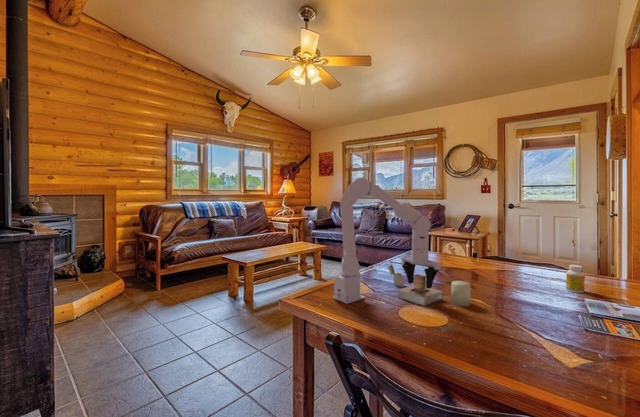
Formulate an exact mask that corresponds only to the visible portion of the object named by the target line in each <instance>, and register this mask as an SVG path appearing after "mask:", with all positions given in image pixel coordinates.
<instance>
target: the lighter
mask: <svg viewBox="0 0 640 417" xmlns="http://www.w3.org/2000/svg"><path fill="white" fill-rule="evenodd" d="M387 269H388V270H389V274H390V276H393V286H397V287H401V288H404V287H405V275H403V274H402V272H398V271H397V272H396V271H395V268H394V265H393V264H388V265H387Z"/></svg>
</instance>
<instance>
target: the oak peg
mask: <svg viewBox="0 0 640 417" xmlns="http://www.w3.org/2000/svg"><path fill="white" fill-rule="evenodd" d="M413 285H414V292H417V293H421V294H423V293H426V274H414V281H413Z"/></svg>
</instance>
